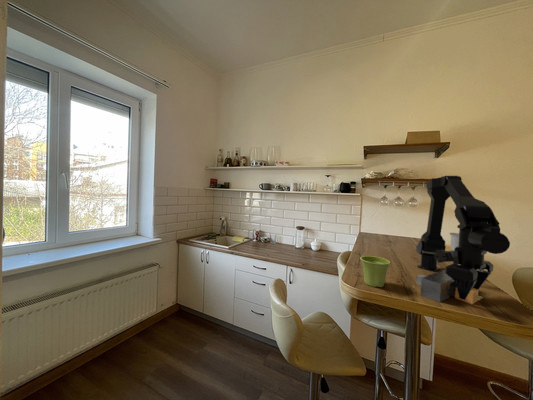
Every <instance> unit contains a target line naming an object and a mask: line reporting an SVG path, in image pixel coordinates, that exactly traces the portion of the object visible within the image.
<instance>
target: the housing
mask: <svg viewBox="0 0 533 400" xmlns="http://www.w3.org/2000/svg"><path fill="white" fill-rule="evenodd" d="M450 287H452V288H456V284H455V281H454V280H453V279H452V278H451V277H449V276H448V275H447V274H445V269H443V270H438V271H437V272H433V273H432V274H431V273H430V274H429V275H425V277H423V278H422V280H421V285H420V296H423V297H424V298H425V297H426V298H427V299H430V300H433V301H436V302H439V303H441V302H443V301H445V300H447V299H449V298H450V295H449V294H450Z"/></svg>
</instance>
